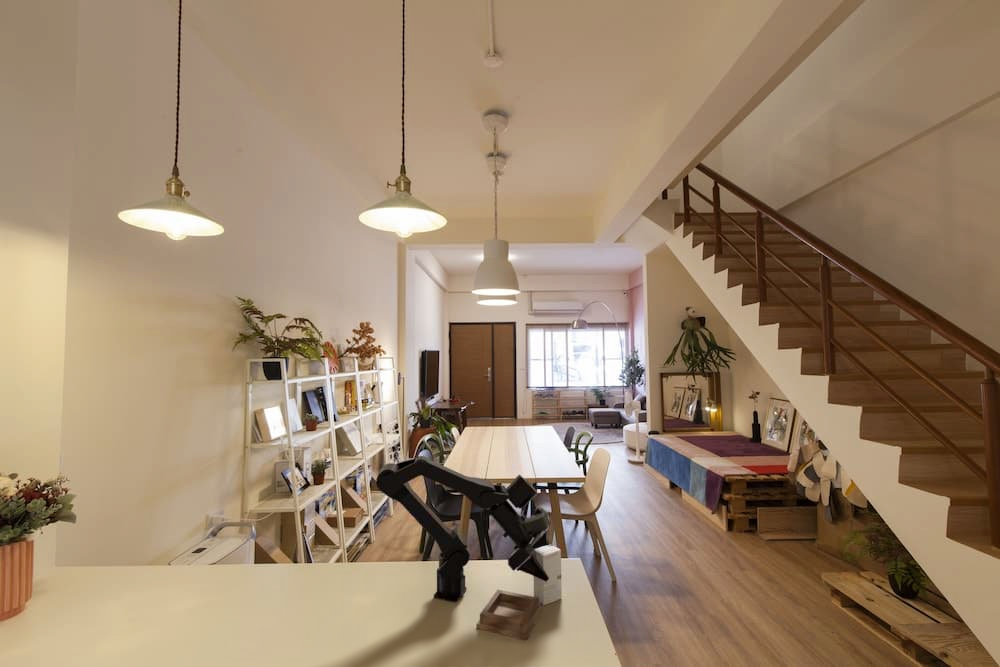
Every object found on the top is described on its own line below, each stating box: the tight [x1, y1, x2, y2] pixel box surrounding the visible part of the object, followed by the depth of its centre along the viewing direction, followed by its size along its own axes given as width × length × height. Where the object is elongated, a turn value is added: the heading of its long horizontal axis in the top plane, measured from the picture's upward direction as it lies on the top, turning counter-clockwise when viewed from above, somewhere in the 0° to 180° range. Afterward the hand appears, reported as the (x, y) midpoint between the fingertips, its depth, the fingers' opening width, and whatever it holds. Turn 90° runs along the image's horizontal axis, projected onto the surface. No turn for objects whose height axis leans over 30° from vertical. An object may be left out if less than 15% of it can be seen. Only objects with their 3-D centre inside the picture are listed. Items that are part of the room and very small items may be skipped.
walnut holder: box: [476, 589, 543, 641], centre depth 103 cm, size 12×12×3 cm
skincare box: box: [532, 543, 563, 606], centre depth 111 cm, size 6×4×12 cm
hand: (552, 570), depth 111 cm, fingers open, 9 cm apart
